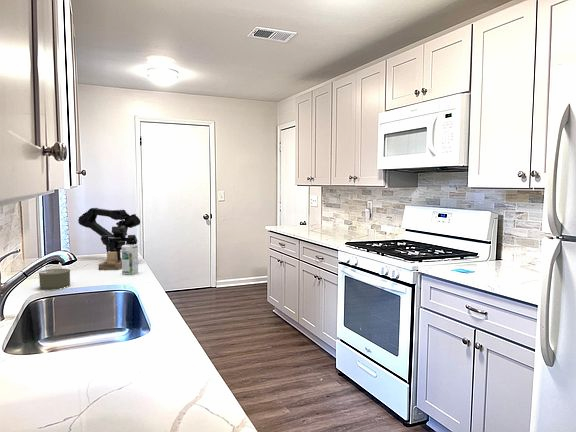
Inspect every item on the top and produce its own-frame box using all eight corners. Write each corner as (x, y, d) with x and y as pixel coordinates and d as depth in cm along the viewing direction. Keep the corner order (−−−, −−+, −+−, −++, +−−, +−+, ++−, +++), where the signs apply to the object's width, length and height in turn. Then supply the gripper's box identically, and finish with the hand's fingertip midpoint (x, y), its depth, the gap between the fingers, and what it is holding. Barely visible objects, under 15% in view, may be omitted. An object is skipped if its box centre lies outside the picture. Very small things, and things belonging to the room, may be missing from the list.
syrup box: (121, 274, 204) (120, 245, 203) (129, 271, 209) (128, 244, 208) (131, 275, 202) (130, 246, 201) (138, 272, 208) (138, 244, 207)
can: (70, 288, 176) (69, 272, 176) (37, 291, 171) (37, 275, 170) (71, 282, 187) (70, 267, 186) (40, 285, 182) (40, 269, 181)
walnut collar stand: (106, 266, 224) (105, 260, 223) (125, 266, 224) (125, 260, 224) (98, 270, 213) (98, 264, 213) (119, 269, 214) (118, 264, 214)
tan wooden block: (109, 267, 221) (109, 251, 220) (117, 267, 221) (117, 251, 220) (107, 268, 217) (106, 253, 216) (115, 268, 217) (114, 253, 216)
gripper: (101, 221, 228) (93, 243, 218) (134, 220, 229) (129, 243, 219) (107, 233, 236) (100, 255, 226) (139, 232, 237) (134, 254, 227)
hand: (115, 252), depth 224 cm, fingers open, 9 cm apart
